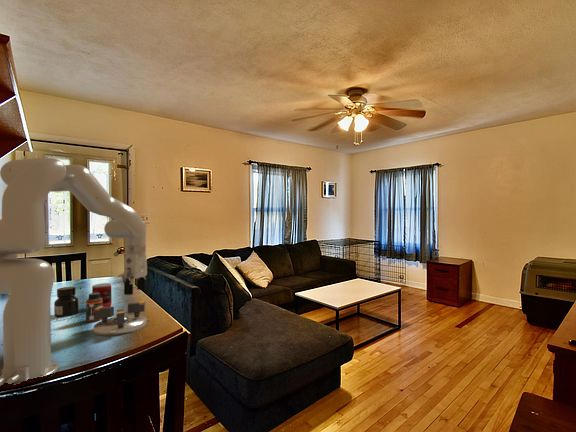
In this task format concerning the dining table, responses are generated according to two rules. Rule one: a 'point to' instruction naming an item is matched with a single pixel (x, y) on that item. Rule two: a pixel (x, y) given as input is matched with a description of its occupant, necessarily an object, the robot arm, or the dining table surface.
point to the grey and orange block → (136, 308)
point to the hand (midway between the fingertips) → (135, 291)
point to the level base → (112, 327)
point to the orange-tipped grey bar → (104, 313)
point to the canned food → (103, 293)
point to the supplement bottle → (93, 306)
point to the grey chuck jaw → (120, 317)
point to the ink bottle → (66, 302)
